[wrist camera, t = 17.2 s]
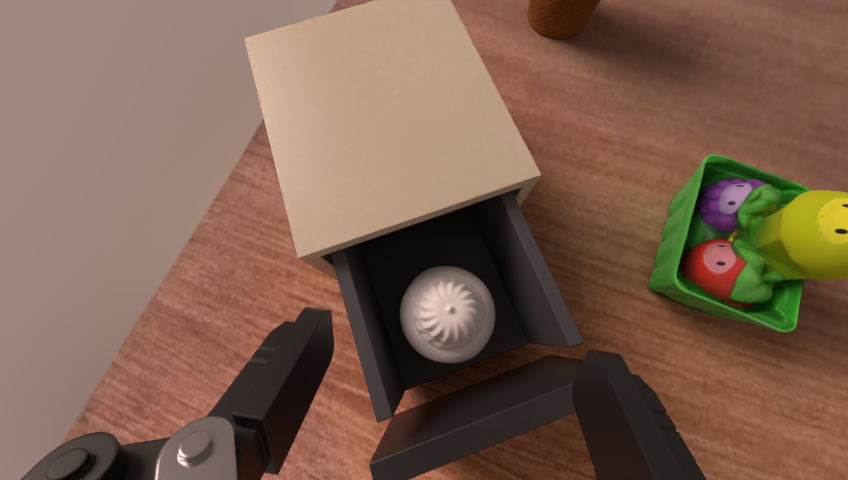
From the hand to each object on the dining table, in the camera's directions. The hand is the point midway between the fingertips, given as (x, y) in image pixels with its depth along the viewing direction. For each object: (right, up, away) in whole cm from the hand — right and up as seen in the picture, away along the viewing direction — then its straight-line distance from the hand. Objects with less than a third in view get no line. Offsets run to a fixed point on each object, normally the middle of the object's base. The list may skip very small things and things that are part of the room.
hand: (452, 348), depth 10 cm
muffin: (+1, -2, +14) cm, 14 cm away
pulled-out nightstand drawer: (+1, -2, +15) cm, 15 cm away
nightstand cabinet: (-3, +9, +19) cm, 21 cm away
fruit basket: (+22, +2, +17) cm, 28 cm away
